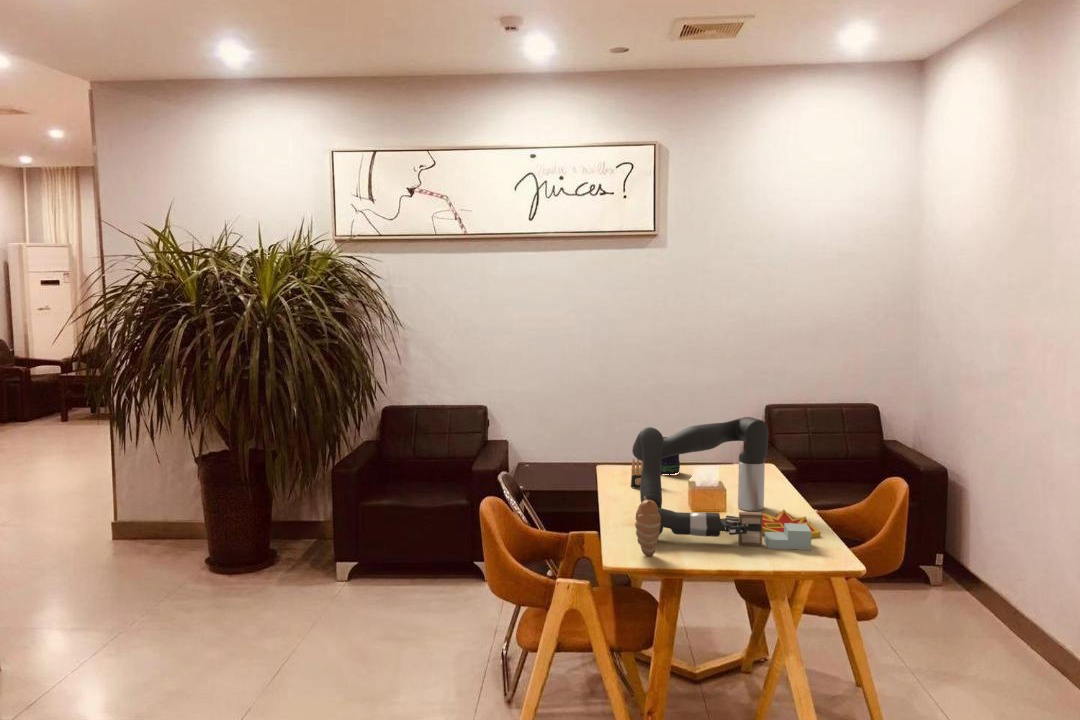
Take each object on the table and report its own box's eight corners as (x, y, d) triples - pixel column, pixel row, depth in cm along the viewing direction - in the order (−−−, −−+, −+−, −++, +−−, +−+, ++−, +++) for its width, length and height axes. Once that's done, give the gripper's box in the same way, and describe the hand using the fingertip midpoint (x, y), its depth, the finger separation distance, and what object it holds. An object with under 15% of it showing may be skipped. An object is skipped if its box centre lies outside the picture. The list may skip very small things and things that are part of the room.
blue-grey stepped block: (764, 540, 275) (764, 522, 275) (806, 542, 273) (806, 523, 273) (767, 548, 267) (768, 530, 267) (810, 550, 266) (811, 531, 265)
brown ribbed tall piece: (631, 552, 265) (631, 495, 263) (655, 550, 266) (655, 493, 265) (640, 561, 256) (641, 502, 254) (665, 559, 258) (666, 501, 256)
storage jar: (668, 469, 376) (668, 436, 374) (684, 473, 368) (685, 439, 366) (651, 472, 370) (652, 438, 368) (667, 477, 362) (668, 442, 360)
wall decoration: (821, 517, 301) (821, 505, 301) (820, 545, 272) (820, 531, 272) (758, 513, 308) (758, 501, 308) (750, 540, 279) (750, 526, 279)
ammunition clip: (631, 487, 344) (631, 458, 343) (630, 486, 346) (630, 457, 345) (657, 487, 345) (658, 458, 343) (656, 486, 347) (657, 457, 345)
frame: (738, 542, 274) (738, 511, 273) (760, 543, 273) (761, 512, 272) (739, 545, 271) (739, 514, 270) (762, 546, 270) (762, 515, 269)
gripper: (703, 529, 280) (757, 531, 278) (705, 542, 266) (762, 544, 264) (703, 506, 280) (757, 508, 277) (705, 519, 266) (762, 520, 263)
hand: (759, 526), depth 271 cm, fingers closed on frame, 3 cm apart
